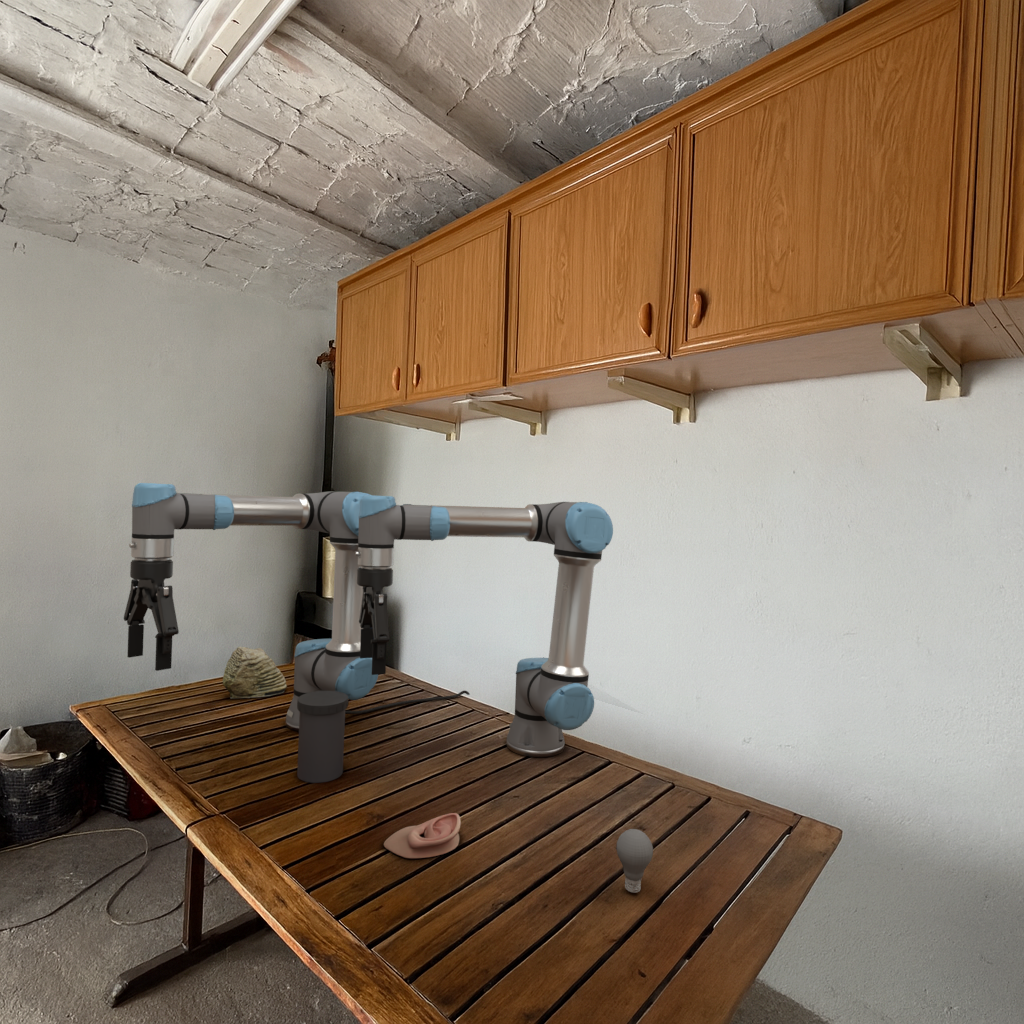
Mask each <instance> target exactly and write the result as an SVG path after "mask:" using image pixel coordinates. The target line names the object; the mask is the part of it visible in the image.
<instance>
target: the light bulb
mask: <svg viewBox="0 0 1024 1024" xmlns="http://www.w3.org/2000/svg"><path fill="white" fill-rule="evenodd" d="M615 849H616V854H617V857H618V859H619V861H620V863H621V865H622V867H623V873H624V874H623V875H624V876H625V878H624V888H625V890H627V891H628V892H630V893H634V894H635V893H639V892H640V891H641V889H642V887H641V886H642V879H643V877H644V875H645V871H646V868H647V867H648V866H649V864H650V863H651V861H652V859H653V855H654V847H653V843H652V841H651V838H649V836H648V835H647V834H646V833H645V832H643V831H642V830H641V829H636V828H629V829H627V830H625V831H623V832H622V833H621V834H620V835H619V837H618V839H617V841H616V847H615Z"/></svg>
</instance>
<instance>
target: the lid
mask: <svg viewBox="0 0 1024 1024" xmlns="http://www.w3.org/2000/svg"><path fill="white" fill-rule="evenodd" d="M348 707H349V699H348V696H347V695H346V694H345V693H342V692H338V691H315V692H310V693H306V694H303V695H301V696H300V697H298V702H297V709H298V711H300V712H302V713H305V714H310V715H328V714H334V713H338V712H341V711H343V710H345V711H346V710H347V708H348Z"/></svg>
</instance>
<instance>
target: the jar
mask: <svg viewBox="0 0 1024 1024" xmlns="http://www.w3.org/2000/svg"><path fill="white" fill-rule="evenodd" d="M345 711H346V709H345V710H343V711H341V712H338V713H334V714H328V715H310V714H305V713H302V712H300V715H299V731H298V743H297V745H298V747H297V768H296V770H297V771H296V775H297V776H296V777H297V778H298V779H299V780H300V781H302V782H305V783H309V784H310V783H311V784H321V783H327V782H332V781H334V780H337V779H338V778H340V777H341V776H342V775H343V773H344V752H345V751H344V750H345V730H346V729H345V728H346V727H345V726H346V714H345Z"/></svg>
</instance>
